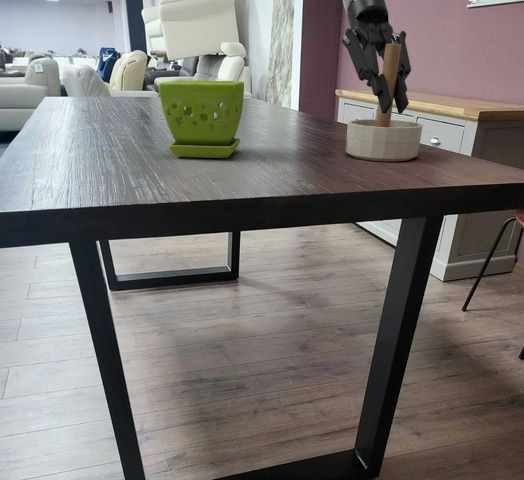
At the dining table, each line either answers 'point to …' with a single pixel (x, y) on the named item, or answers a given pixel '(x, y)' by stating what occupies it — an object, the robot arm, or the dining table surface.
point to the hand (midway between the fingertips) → (395, 108)
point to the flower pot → (202, 116)
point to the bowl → (383, 140)
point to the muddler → (389, 81)
